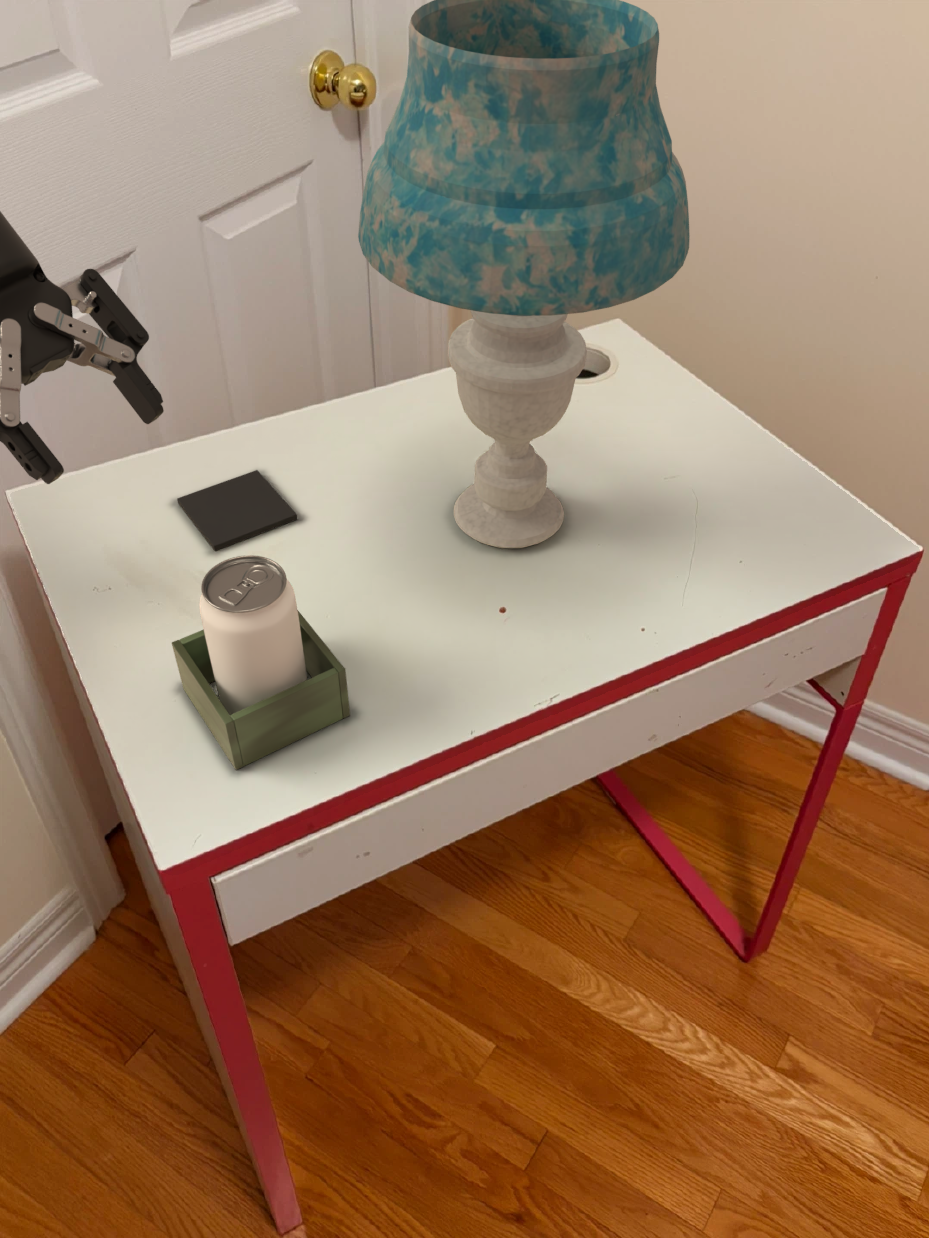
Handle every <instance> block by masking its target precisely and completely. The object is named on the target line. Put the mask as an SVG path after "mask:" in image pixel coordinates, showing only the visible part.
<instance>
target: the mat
mask: <svg viewBox="0 0 929 1238" xmlns="http://www.w3.org/2000/svg"><path fill="white" fill-rule="evenodd" d="M176 500H177V504H178V505H179V507H180V508H181V510H182V511H183V512H184V513H185V515H186V516H187V517H188V518H189V520H190V522H192V524H193V525H194V526H195V528H196V529H197V530H198V531H199V533H200V534H201V535H202V537H203V538H204V539H205V541H206V542H207V543H208V544H209V546H210V547H211V548H212V550H213V551H214V552H217V551H218V550H221V549H224V548H226V547H229V546H232V545H234V544H237V543H239V542H242V541H245V540H247V539H250V538H253V537H255V536H257V535H260V534H263V533H266V532H268V531H271V530H273V529H276V528H279V527H281V526H284V525H287V524H289V523H291V522H294V521H296V520H298V514H297V513H296V511H295V510H294V509H292V508H291V506H290V505H289V504H288V503H287V501H286V500H284V498H283V497H282V496H281V495H280V494H279V492H277V490H275V488H274V487H273V486H272V485H271V484H270V483H269V481H268V480H267V479H266V478H265V477H264V476H263V475H262V473H261V472H260V471H259V470H258V469H255V470H253V471H250V472H248V473H243V474H242V475H239V476H236V477H233V478H231V479H228V480H225V481H222V482H220V483H216V484H214V485H211V486H208V487H205V488H202V489H199V490H197V491H194V492H191V493H188V494H185V495H183V496H180V497H177V498H176Z"/></svg>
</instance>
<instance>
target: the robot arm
mask: <svg viewBox="0 0 929 1238" xmlns="http://www.w3.org/2000/svg"><path fill="white" fill-rule="evenodd" d="M73 307H75V308H77V309H78V310H79V312H80V313H81V314H88V315H89V316H90V317H91V319H92V320H93V321H94V322H95V323H96V324H97V326H98V327H99V328H100V329H99V328H98V327H95V326H93V325H91V324H89V323H86V322H84V321H82V320H80V319H77V318H75V317H74V315H73ZM149 340H150V334H149V333H148V331H147V329H146V328H145V327H144V326H143V324H142V323H141V322H140V321H139V320H138V319H137V318H136V316H135V315H134V313H132V312H131V310H130V309H129V308H128V307H127V305H126V304H125V302H123V301H122V299H121V298H120V297H119V295H118V294H117V293H116V292H115V291H114V289H113V288H112V287H111V286H110V285H109V283H108V282H107V281H106V280H105V279H104V277H103V276H102V275H101V274H100V273H99V272H98V271H97V270H96V269H93V268H87V269H85V270H84V271H83V273H82V274H81V275H80V276H79V278H78V279H77V280H75V281H73V282H71V283H70V284H68V285H66V286H64V287H60V286H59V285H57V284H55V283H54V282H52V281H51V280H50V279H49V277H47V275H46V274H45V272H44V269H42V266H41V264H40V262H39V260H38V258H37V257H36V256H35V255H34V253H33V252H32V251H31V250H30V248H29V247H28V245H27V244H26V243H25V241H23V239H22V237H21V236H20V235H19V234H18V233H17V231H16V230H15V229H14V227H13V226H12V225H11V223H10V222H9V220H8V219H7V218H6V217H5V215H4V214H3V212H2V211H1V210H0V443H2V444H3V445H4V446H5V448H6V449H7V450H8V451H9V452H10V454H11V455H12V456H13V457H14V458H15V460H16V461H17V462H18V463H19V465H20V466H21V467H22V468H23V470H24V471H25V472H26V474H27V475H28V476H29V477H30V478H32V479H33V480H35V481H38V480H42V481H43V482H44V483H45V484H46V485H50V484H51V483H53V482H55V481H57V480H58V479H59V478H60V477H62V475H63V474H64V472H65V469H64V465H62V463H61V461H59V459H58V458H57V457H56V455H55V454H54V453H53V452H52V451H51V448H49V446H47V444H46V443H45V441H43V439H42V438H41V437H40V435H39V434H38V433H37V431H36V430H35V429H34V428H33V426H32V425H31V424H30V423H29V422H28V421H26V422H24V423H22V421H21V390H22V385H24V387H26V386H28V385H30V384H31V383H34V382H35V381H36V380H37V379H38V378H39V377H40V376H41V375H42V374H44V373H50V372H54V371H56V370H58V369H60V368H62V367H63V366H64V365H65V363H66V362H67V361H68V362H70V363H72V364H74V365H77V366H80V367H92V368H93V369H96V370H99V371H101V372H103V373H106V374H108V375H111V376H112V377H115V378H114V379H113V380H112V383H113V384H114V386H115V387H116V388H117V390H118V391H119V392H120V394H121V395H122V397H124V399H125V400H126V401H127V403H128V404H129V405H130V406H131V408H132V409H133V410H134V412H135V413H136V414H137V416H138V417H139V418H140V420H141V421H142V422H143V423H144V424H146V425H150V424H152V423H153V422H155V421H156V420H158V419H159V418H160V417H161V415H162V414H163V413H164V411H165V410H164V406H163V403H164V400H163V397H162V394H161V392H160V391H159V390H158V389H157V387H156V386H155V384H154V383H153V382H152V381H151V379H150V378H149V376H148V375H147V374H146V373H145V372H144V370H143V368H142V367H141V366H140V365H139V363H138V355H139V354H140V352H141V350H142V349H143V348H144V346H146V344H147V343H148V341H149ZM76 341H77V342H76Z"/></svg>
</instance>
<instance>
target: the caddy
mask: <svg viewBox="0 0 929 1238" xmlns="http://www.w3.org/2000/svg"><path fill="white" fill-rule="evenodd" d="M298 617H299V624H300V631H301V638H302V645H303V653H304V660H305V667H306V673H308V675H310V677H311V678H309V679H308V678H307V680H306V681H304V682H302V683H300V684H297V685H295V686H293V687H291V688H289V689H286V690H284V691H282V692H280V693H278V694H275V695H273V696H271V697H269V698H267V699H265V700H262V701H260V702H258V703H256V704H254V705H251V706H249V707H247V708H245V709H243V710H240V711H238V712H236V713H234V714H232V715H229V713H228V712H227V710H226V709H225V707H224V706H223V704H222V703H221V701H220V698H219V696H218V695H217V694H216V692H215V691H214V690H213V688H212V686H211V685H210V684H212V683H214V682H215V677H214V673H213V669H212V664H211V660H210V656H209V651H208V647H207V642H206V638H205V633H204V629H203V628H202V630H198V631H197V632H193V633H191V634H189V635H186V636H184V637H182V638H180V639H177V640H174V641H172V642H171V647H172V650H173V654H174V658H175V662H176V666H177V670H178V674H179V677H180V681H181V685H182V689H183V690H184V692H185V694H186V695H187V697H188V698H189V700H190V701H191V703H192V704H193V706H194V707H195V710H196V711H197V712H198V714H199V716H200V718H202V720H203V721H204V724H205V725H206V726H207V728H208V730H209V731H210V732H211V734H212V736H213V737H214V739H215V741H216V742H217V743H218V745H219V746H220V748H221V749H222V751H223V753H224V754H225V756H226V757H227V759H228V760H229V762H230V763H231V766H232V767H233V768H234V770H236V771H237V770H239V769H241V768H243V767H245V766H247V765H250V764H251V763H254V762H256V761H258V760H261V759H262V758H264V757H266V756H268V755H270V754H272V753H274V752H277V751H279V750H281V749H282V748H285V747H287V746H289V745H291V744H293V743H295V742H297V741H299V740H301V739H304V738H306V737H308V736H311V735H312V734H315V733H316V732H318V731H320V730H322V729H325V728H327V727H328V726H331V725H332V724H335V723H337V722H339V721H341V720H343V719H346V718H347V717H350V716H351V712H350V701H349V691H348V682H347V681H348V680H347V672H346V668H345V666H344V665H343V664H342V663H341V662H340V660H339V659H338V658H337V656H336V655H335V654H334V653H333V652H332V651H331V649H330V648H329V647H328V646H327V644H326V643H325V642H324V640H323V639H322V638H321V637H320V635H319V634H318V632H316V631H315V629H314V628H313V627H312V626H311V624H310V623H309V622H308V621H307V620H306V618H305V617H304V616H303V614H302V613H301V612H300V611H299V610H298Z"/></svg>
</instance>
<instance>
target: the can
mask: <svg viewBox="0 0 929 1238" xmlns="http://www.w3.org/2000/svg"><path fill="white" fill-rule="evenodd" d="M198 603H199V605H198V607H199V614H200V620H201V624H202V630H203V629H204V633H205V638H206V642H207V647H208V651H209V656H210V660H211V664H212V669H213V673H214V677H215V681H214V682H215V686H216V689H217V694H218V698H219V700H220V701H221V703H222V704H223V706H224V707H225V709H226V710H227V712H228V713H229V715H232V714H234V713H236V712H238V711H240V710H243V709H245V708H247V707H249V706H251V705H254V704H256V703H258V702H260V701H262V700H265V699H267V698H269V697H271V696H273V695H275V694H278V693H280V692H282V691H284V690H286V689H289V688H291V687H293V686H295V685H297V684H300V683H302V682H304V681H306V680H308V675H307V670H306V667H305V660H304V653H303V645H302V638H301V631H300V624H299V617H298V611H299V609H298V604H297V598H296V594H295V590H294V587H293V585H292V584H291V582H290V581H289V579H288V578H287V574H286V571H285V570H284V568H283V567H282V566H281V565H280V564H279V563H278V562H276V561H274V560H273V559H271V558H268V557H265V556H260V555H254V554H253V555H252V554H251V555H237V556H233V557H230V558H228V559H224V560H223V561H220V562H219V563H217V564H215V565H214V566H213V567H211V568H210V569H209V570H208V571H207V573H205V575H204V576H203V579H202V581H201V595H200V598H199V602H198Z"/></svg>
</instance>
